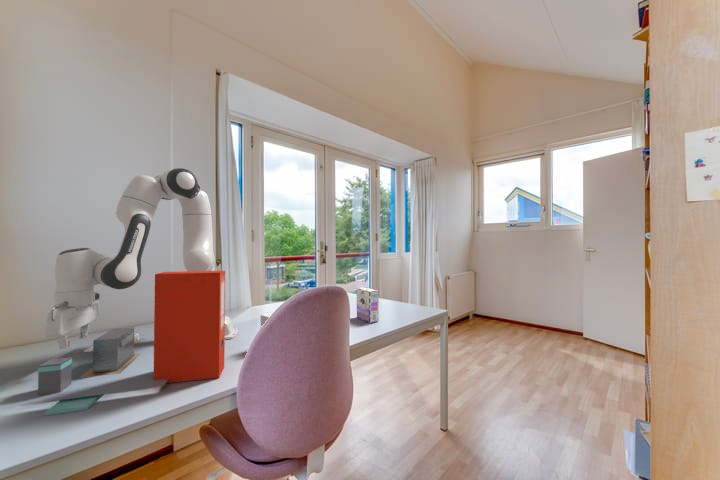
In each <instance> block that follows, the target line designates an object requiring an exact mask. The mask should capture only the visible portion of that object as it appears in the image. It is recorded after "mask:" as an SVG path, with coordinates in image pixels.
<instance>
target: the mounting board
mask: <svg viewBox="0 0 720 480" xmlns="http://www.w3.org/2000/svg"><path fill="white" fill-rule="evenodd" d="M141 354H142V353H134V357H132V358H131V359H130V360H129V361H128V362H127V363H126V364H125V365H123V366H122V367H121V368H120V369H119V370H118V371H113V372H104V373H96V374H93V367H91V368H90V369H88V370H87V371H86V372H85V373H83V374H82V375H80V376H79V377H78V379H82V378H83V379H84V378H85V379H86V378H92V377H101V376H108V375H118V374H121V373H123V372H124V370H126V369H127V368H128V367H129V366H130V365H131V364H132V363H133V362H134V361H135V360H136V359H137V358H139V357H140V356H141Z"/></svg>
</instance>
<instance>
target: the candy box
mask: <svg viewBox="0 0 720 480" xmlns="http://www.w3.org/2000/svg"><path fill="white" fill-rule="evenodd" d="M379 293H380V292H379V290H377V289H373V288H369V287H366V286H365V287H364V286H363V287H357V288H356V318H357V319H360V320H362V321H364V322H367V324H368V323H369V324H372V323H379V295H380V294H379Z"/></svg>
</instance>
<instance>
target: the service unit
mask: <svg viewBox="0 0 720 480" xmlns="http://www.w3.org/2000/svg"><path fill="white" fill-rule="evenodd" d="M134 333H135V327H134V326H133V327H122V328H112V329H111V330H109V331H107V332H106V333H104V334H102V335H100V336H99V337H97V338H95V339H94V340H93V341H92V342H93V343H92V344H93V345H92V346H93V351H92V368H93V374H96V373H104V372H113V371H118V370H119V369H120V368H121V367H122V366H123V365H125V364H126V363H127V362H128V361H129V360H130V359H131V358H132V357H134V354H135V343H134Z"/></svg>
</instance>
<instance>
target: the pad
mask: <svg viewBox="0 0 720 480" xmlns="http://www.w3.org/2000/svg"><path fill="white" fill-rule="evenodd" d="M103 395H104V394H101V393H100V394H96V395H95V394H94V395H90V396H89V395H88V396H81V397H74V398H67V399H60V400H59V401H58V402H56V403H55V404H54V405H52V406H51V407H50V408H49V409H47V410H45V412H44V416H51V415H58V414H64V413H65V414H66V413H71V412H77V411H80V412H81V411H84V410H88V409H90V407H91V406H92V405H94V404H95V403H96V402H97V401H98V400H99V399H100V398H101V397H102V396H103Z"/></svg>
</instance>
